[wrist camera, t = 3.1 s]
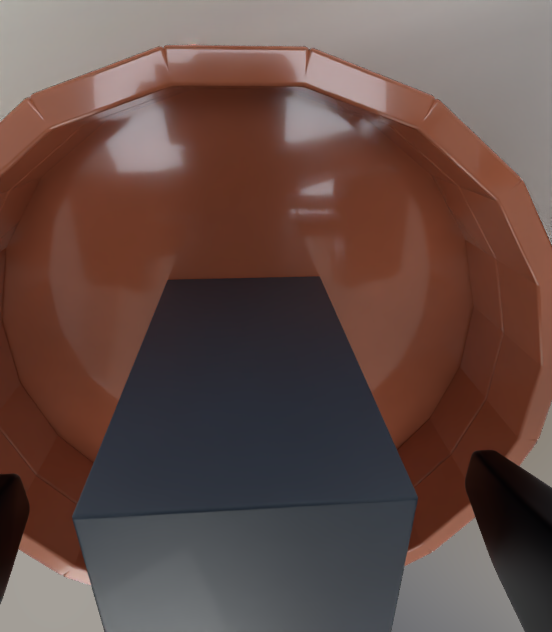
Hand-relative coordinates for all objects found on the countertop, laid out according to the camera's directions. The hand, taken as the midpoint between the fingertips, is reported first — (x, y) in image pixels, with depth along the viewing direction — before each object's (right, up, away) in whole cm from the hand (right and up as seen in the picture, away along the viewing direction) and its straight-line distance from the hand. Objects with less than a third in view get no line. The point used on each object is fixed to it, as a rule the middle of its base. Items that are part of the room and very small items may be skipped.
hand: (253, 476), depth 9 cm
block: (0, +2, +5) cm, 5 cm away
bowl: (0, +3, +5) cm, 6 cm away
